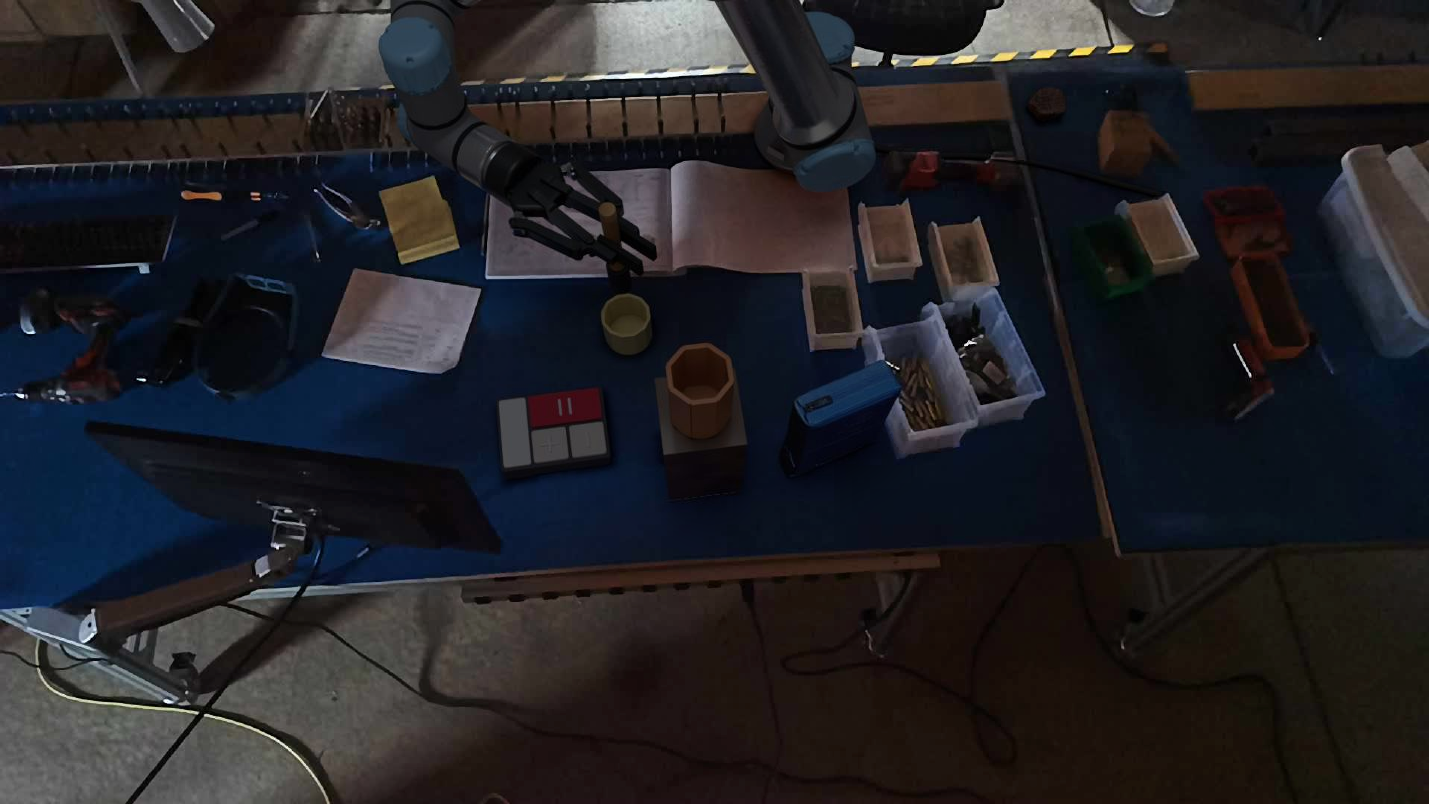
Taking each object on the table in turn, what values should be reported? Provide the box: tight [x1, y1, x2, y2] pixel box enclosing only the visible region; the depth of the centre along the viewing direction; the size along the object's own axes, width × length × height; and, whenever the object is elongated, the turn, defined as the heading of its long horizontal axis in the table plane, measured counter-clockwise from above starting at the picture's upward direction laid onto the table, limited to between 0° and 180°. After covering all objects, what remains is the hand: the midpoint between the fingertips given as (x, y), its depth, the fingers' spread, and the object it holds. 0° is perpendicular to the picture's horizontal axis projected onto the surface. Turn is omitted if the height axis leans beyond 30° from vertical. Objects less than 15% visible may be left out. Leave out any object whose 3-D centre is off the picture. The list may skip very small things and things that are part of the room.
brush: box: [599, 202, 633, 295], centre depth 106 cm, size 3×3×17 cm
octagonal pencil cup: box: [664, 342, 735, 439], centre depth 96 cm, size 7×7×11 cm
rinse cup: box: [600, 293, 653, 356], centre depth 125 cm, size 7×7×6 cm
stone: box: [1026, 86, 1067, 122], centre depth 144 cm, size 7×7×3 cm
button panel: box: [495, 385, 612, 480], centre depth 119 cm, size 11×4×15 cm
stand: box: [653, 368, 749, 504], centre depth 110 cm, size 10×10×20 cm
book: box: [778, 359, 903, 478], centre depth 112 cm, size 14×5×20 cm, turn 115°
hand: (647, 260), depth 103 cm, fingers closed on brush, 2 cm apart
